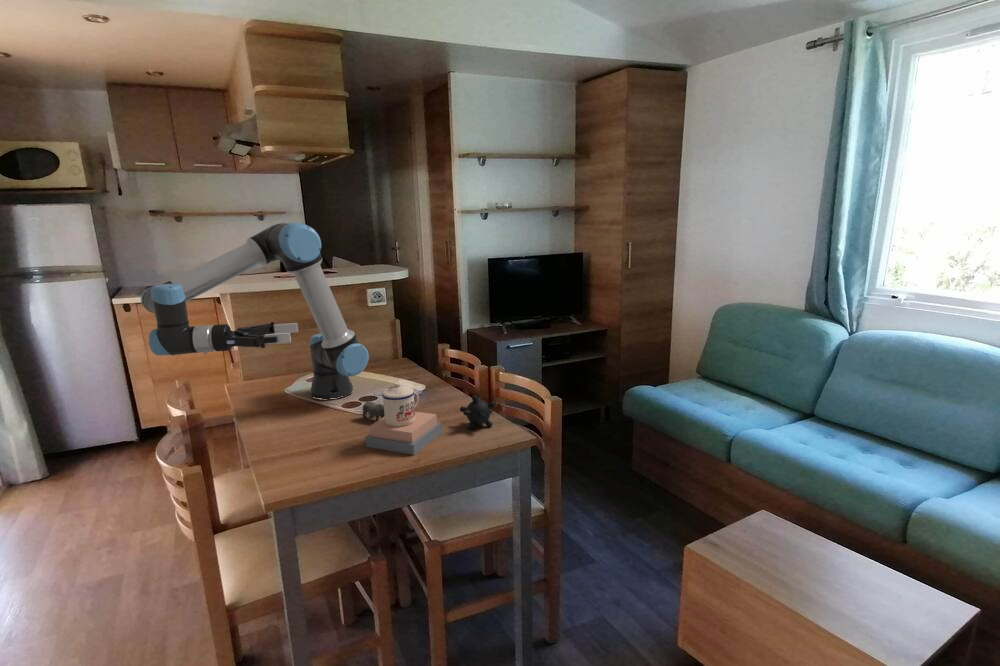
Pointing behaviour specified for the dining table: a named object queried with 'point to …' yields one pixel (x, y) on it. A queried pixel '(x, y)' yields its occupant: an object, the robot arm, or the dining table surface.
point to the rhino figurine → (373, 410)
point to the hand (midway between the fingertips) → (294, 332)
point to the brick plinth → (404, 444)
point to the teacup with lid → (399, 405)
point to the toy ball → (478, 412)
